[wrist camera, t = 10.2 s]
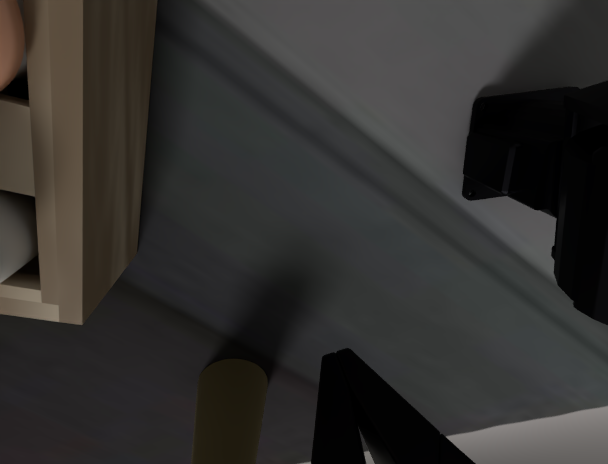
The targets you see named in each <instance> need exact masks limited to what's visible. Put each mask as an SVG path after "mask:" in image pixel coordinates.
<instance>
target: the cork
mask: <svg viewBox="0 0 608 464" xmlns="http://www.w3.org/2000/svg"><path fill="white" fill-rule="evenodd" d="M267 387H268V380H267V376H266V374H265V372H264V370H263V369H261V368H260V367H259V366H258V365H257V364H254V363H252V362H250V361H247V360H242V359H224V360H221V361H218V362H214V363H213V364H211V365H209V366H208V367H206V368H205V369H204V370H203V372H202V373H201V374H200V376H199V380H198V386H197V398H196V411H195V423H194V435H193V448H192V460H191V464H255V463H256V457H257V450H258V444H259V438H260V431H261V425H262V418H263V412H264V406H265V399H266V393H267Z"/></svg>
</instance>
